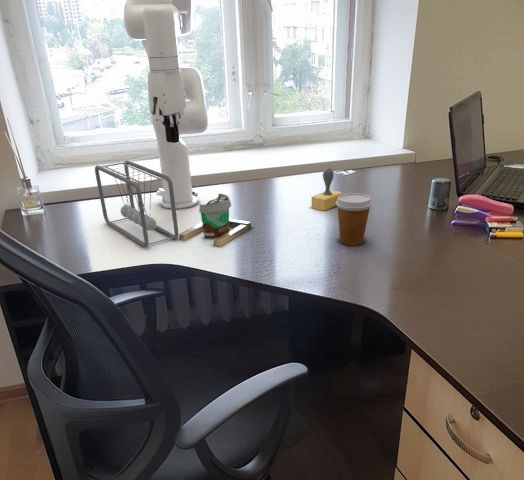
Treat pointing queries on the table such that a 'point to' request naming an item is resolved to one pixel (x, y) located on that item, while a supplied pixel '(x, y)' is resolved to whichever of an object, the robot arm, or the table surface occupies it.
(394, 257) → the table surface
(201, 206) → the food container
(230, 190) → the table surface
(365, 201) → the disposable coffee cup
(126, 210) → the newton's cradle
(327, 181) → the rubber stamp
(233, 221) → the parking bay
